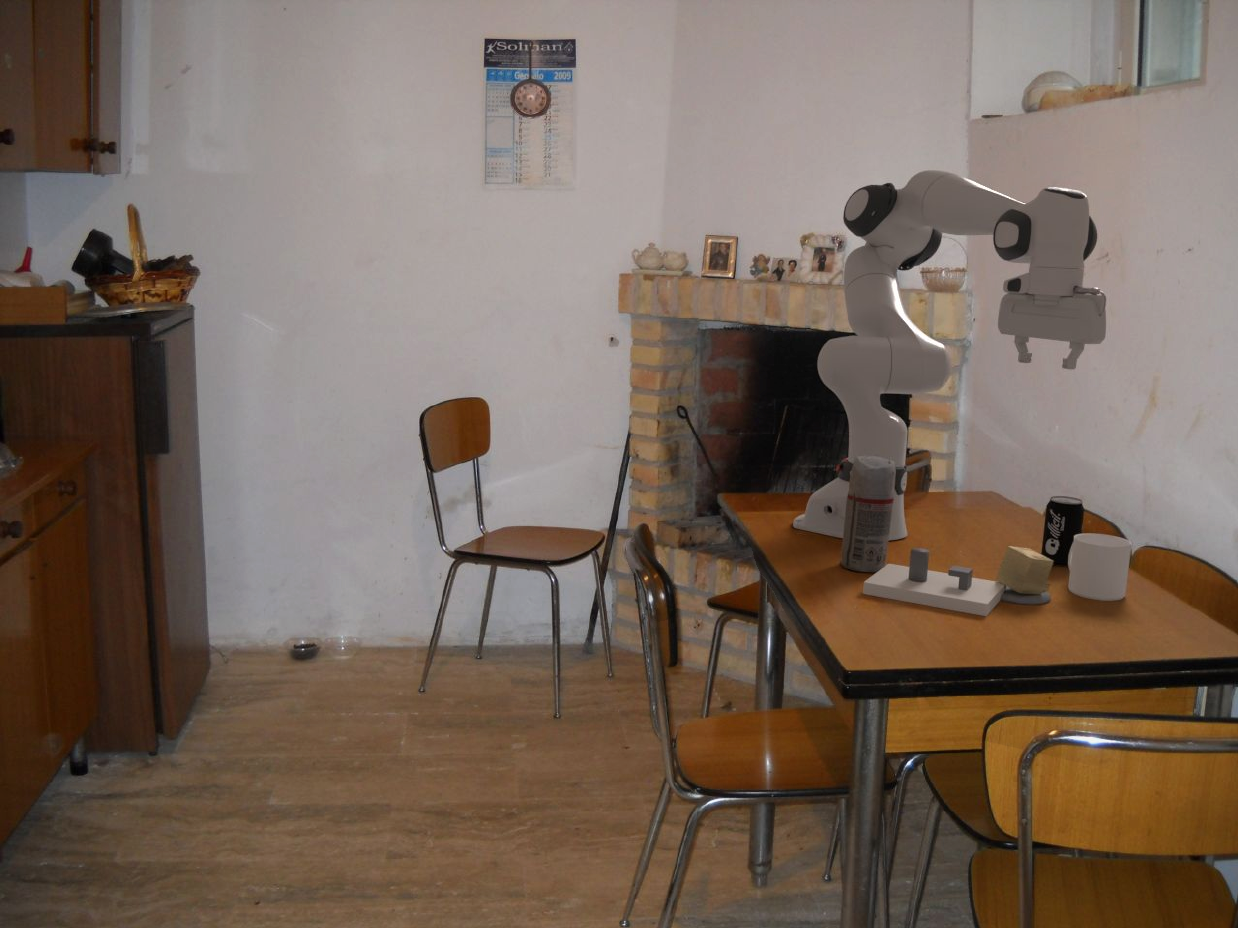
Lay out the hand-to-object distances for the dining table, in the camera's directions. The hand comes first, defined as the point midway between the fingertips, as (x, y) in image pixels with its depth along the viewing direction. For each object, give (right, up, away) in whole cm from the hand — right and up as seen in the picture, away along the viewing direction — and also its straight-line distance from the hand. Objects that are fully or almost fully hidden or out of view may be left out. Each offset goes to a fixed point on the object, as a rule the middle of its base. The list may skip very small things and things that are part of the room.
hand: (1046, 365), depth 207 cm
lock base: (-21, -39, -8) cm, 45 cm away
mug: (+7, -39, -2) cm, 39 cm away
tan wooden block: (-6, -38, -6) cm, 39 cm away
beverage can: (+8, -35, +16) cm, 39 cm away
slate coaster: (-7, -39, -7) cm, 40 cm away
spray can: (-30, -36, +7) cm, 47 cm away
